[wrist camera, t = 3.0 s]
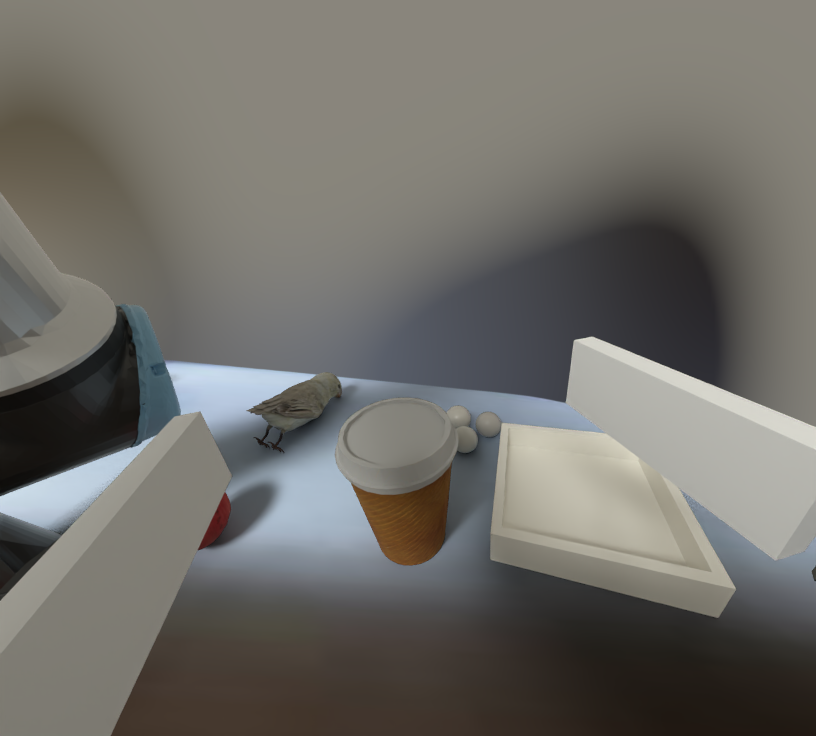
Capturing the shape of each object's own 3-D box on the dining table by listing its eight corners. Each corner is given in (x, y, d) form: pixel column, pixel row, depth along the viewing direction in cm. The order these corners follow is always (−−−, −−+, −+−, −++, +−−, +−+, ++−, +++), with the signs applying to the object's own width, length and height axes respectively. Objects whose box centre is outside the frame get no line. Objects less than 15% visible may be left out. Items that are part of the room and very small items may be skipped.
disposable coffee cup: (462, 594, 23) (455, 478, 17) (345, 579, 25) (308, 470, 19) (463, 492, 31) (459, 394, 26) (376, 487, 33) (355, 394, 28)
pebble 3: (500, 443, 37) (500, 423, 36) (474, 440, 38) (473, 420, 37) (501, 428, 40) (502, 408, 38) (477, 425, 41) (477, 406, 39)
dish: (718, 618, 20) (736, 589, 18) (490, 559, 25) (490, 533, 23) (643, 462, 32) (650, 438, 30) (501, 444, 37) (501, 422, 35)
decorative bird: (353, 398, 52) (344, 360, 48) (281, 461, 39) (262, 414, 36) (329, 394, 54) (319, 357, 51) (253, 452, 41) (234, 407, 38)
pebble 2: (476, 460, 35) (475, 438, 34) (449, 456, 36) (447, 435, 35) (479, 442, 38) (479, 422, 36) (454, 439, 39) (453, 419, 37)
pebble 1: (469, 438, 39) (468, 416, 37) (443, 434, 40) (441, 413, 38) (472, 422, 41) (472, 401, 40) (448, 419, 43) (447, 399, 41)
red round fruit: (248, 542, 29) (215, 481, 25) (177, 587, 26) (129, 524, 22) (235, 505, 33) (206, 449, 29) (173, 540, 30) (132, 481, 26)
